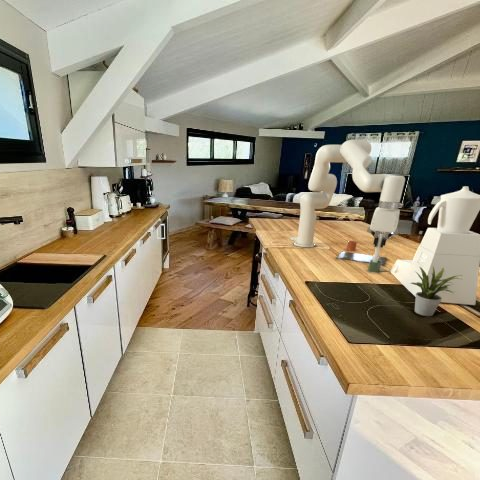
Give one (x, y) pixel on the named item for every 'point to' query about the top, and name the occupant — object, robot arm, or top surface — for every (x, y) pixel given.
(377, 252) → the stylus
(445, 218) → the blender
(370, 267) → the green cube
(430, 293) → the house plant
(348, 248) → the reddish-brown cube
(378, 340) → the top surface
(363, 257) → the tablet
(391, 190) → the robot arm
